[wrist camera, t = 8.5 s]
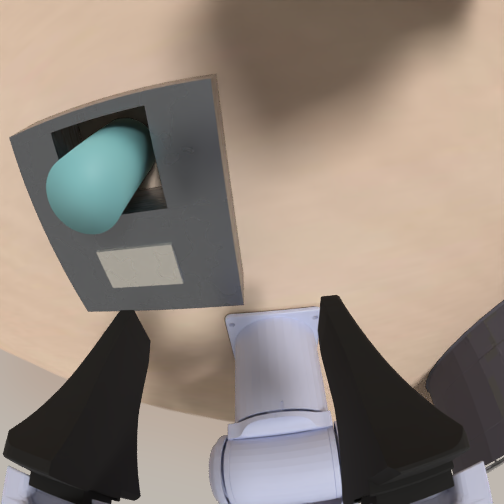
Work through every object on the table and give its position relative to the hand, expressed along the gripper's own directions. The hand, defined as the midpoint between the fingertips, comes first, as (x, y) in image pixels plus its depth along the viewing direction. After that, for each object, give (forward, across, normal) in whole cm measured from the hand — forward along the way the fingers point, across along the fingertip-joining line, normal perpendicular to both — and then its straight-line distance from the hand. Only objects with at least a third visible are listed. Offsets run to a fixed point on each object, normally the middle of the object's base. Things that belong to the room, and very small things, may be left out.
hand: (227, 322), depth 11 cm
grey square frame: (+9, +6, -1) cm, 11 cm away
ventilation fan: (+10, -39, +27) cm, 48 cm away
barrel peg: (+9, +6, -4) cm, 12 cm away
